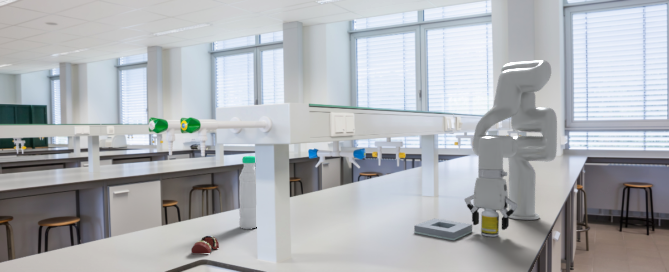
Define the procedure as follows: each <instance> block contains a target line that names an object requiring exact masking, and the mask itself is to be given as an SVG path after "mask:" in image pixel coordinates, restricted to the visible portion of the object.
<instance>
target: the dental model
mask: <svg viewBox="0 0 669 272" xmlns="http://www.w3.org/2000/svg"><path fill="white" fill-rule="evenodd" d="M211 248H213V249H211ZM217 248H219V249H220V244H219V240H218V239H217V238H216V237H215V236H211V235H206V236H203V237H202V238H201V239H200V240H197V241H196V242H194V244H193V246H192V247H191V254H192V253H210V252H211V253H212V250H218V249H217Z"/></svg>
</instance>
